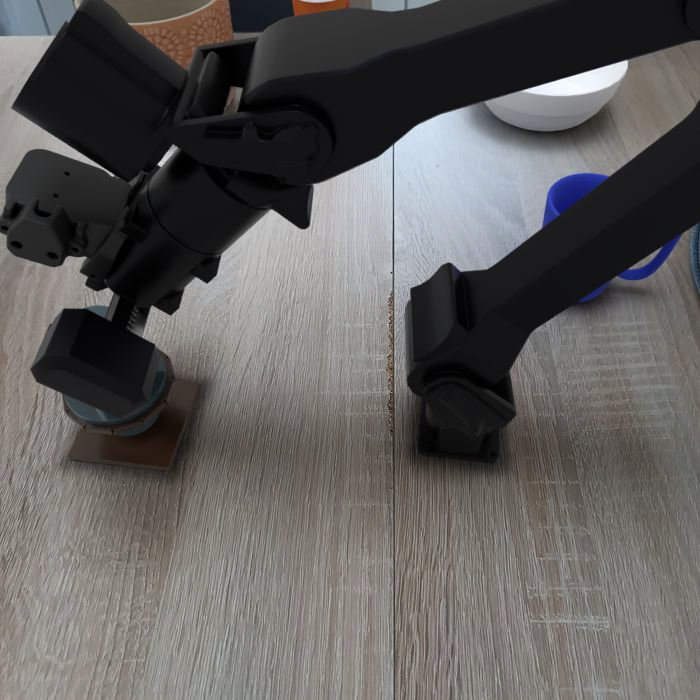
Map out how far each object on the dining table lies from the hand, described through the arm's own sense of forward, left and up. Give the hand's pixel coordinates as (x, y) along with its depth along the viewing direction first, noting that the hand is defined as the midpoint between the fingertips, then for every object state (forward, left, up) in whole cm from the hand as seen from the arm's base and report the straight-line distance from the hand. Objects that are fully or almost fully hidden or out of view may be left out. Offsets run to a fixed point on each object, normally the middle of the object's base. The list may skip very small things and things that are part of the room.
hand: (72, 333), depth 47 cm
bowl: (+52, -36, -12) cm, 65 cm away
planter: (+47, +10, -12) cm, 50 cm away
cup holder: (0, -1, -12) cm, 12 cm away
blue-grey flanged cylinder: (0, -1, -10) cm, 10 cm away
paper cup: (+55, -8, -12) cm, 57 cm away
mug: (+21, -40, -12) cm, 47 cm away
